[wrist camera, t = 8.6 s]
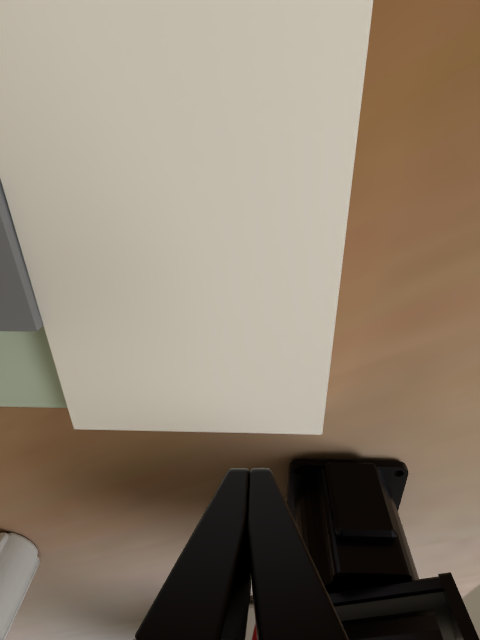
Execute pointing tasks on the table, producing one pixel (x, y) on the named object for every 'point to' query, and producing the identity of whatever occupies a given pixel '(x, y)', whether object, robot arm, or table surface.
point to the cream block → (184, 201)
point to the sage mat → (28, 371)
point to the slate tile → (14, 279)
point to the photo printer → (14, 576)
